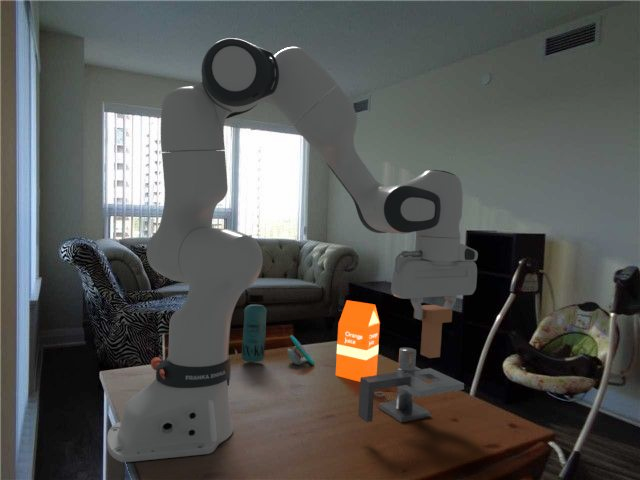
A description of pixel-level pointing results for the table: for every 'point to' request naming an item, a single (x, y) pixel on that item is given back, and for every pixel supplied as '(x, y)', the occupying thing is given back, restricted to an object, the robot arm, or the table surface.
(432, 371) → the grey windowed jig
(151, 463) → the table surface
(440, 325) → the brown block
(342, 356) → the orange juice
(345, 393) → the table surface
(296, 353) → the ornament
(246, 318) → the beverage bottle
